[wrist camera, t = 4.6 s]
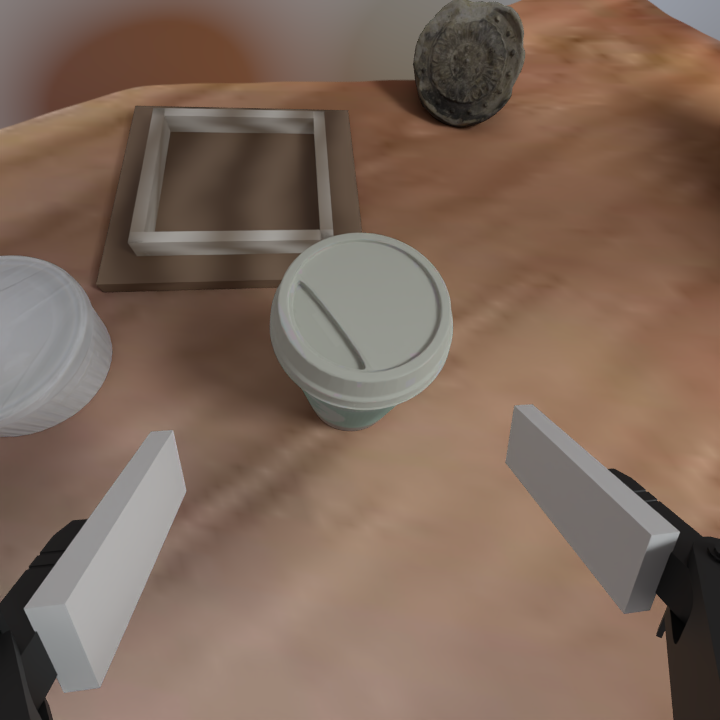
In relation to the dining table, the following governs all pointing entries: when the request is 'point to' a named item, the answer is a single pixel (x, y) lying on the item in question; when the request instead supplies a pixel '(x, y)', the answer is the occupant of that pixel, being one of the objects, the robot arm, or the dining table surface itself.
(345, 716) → the dining table surface
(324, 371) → the coffee cup
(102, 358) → the ramekin
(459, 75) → the fossil
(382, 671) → the dining table surface
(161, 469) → the robot arm
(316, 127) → the locating board
